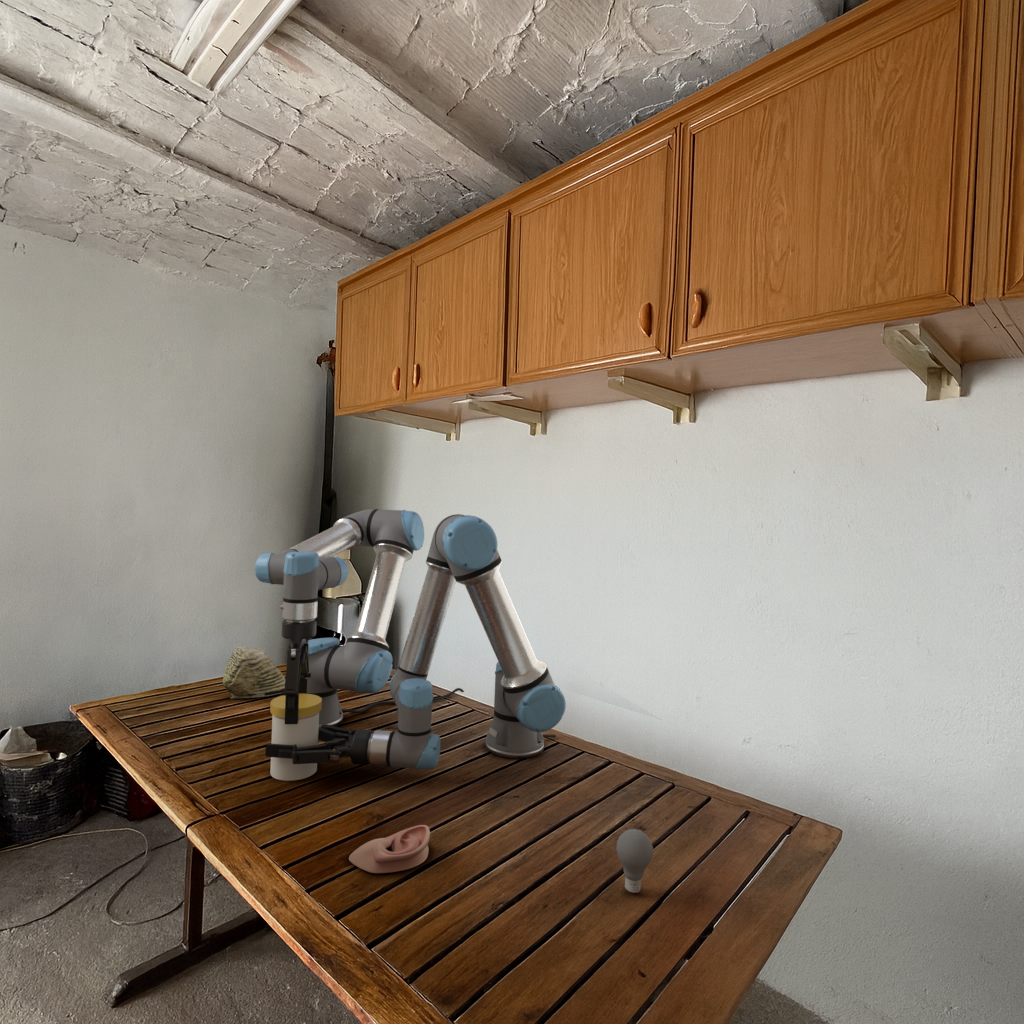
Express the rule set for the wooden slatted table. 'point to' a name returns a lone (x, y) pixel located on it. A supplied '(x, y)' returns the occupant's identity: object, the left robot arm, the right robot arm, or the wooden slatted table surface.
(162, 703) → the wooden slatted table surface
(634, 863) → the light bulb
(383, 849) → the anatomical model
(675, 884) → the wooden slatted table surface
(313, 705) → the lid
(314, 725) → the jar
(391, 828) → the wooden slatted table surface
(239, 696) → the fossil
